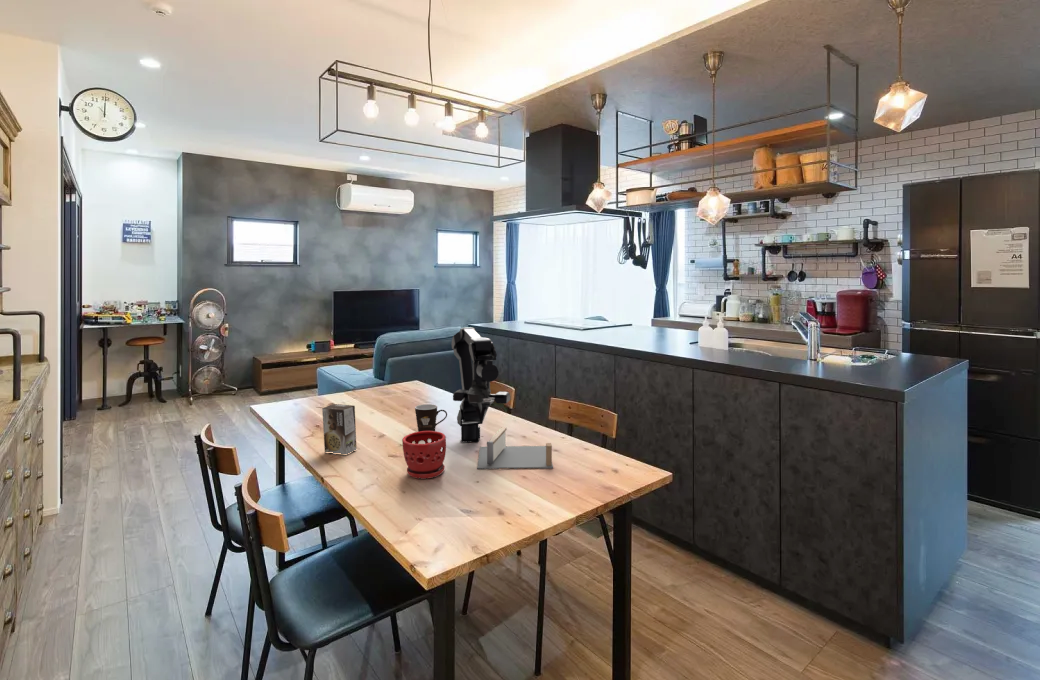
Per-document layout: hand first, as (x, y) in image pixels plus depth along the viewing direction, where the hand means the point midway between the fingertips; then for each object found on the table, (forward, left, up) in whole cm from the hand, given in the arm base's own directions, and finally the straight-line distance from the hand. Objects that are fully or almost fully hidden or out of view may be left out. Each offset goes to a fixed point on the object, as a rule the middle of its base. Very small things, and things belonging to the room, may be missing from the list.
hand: (481, 421), depth 188 cm
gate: (+5, -4, -10) cm, 12 cm away
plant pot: (-17, -18, -12) cm, 28 cm away
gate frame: (+11, -4, -12) cm, 16 cm away
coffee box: (-49, +4, -12) cm, 51 cm away
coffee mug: (-21, +26, -12) cm, 35 cm away
